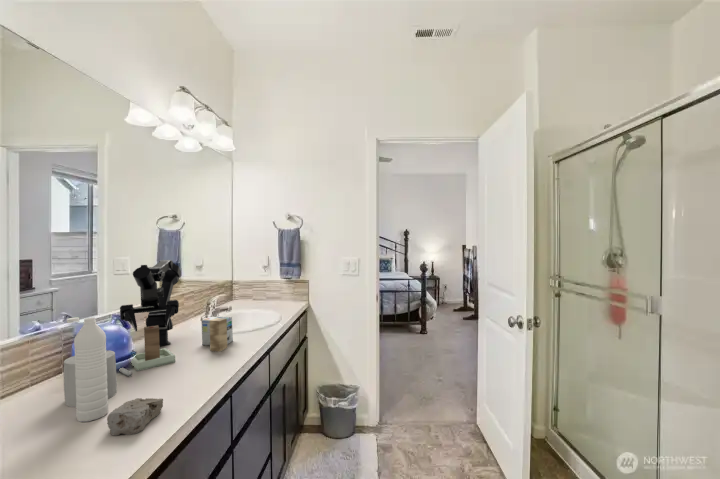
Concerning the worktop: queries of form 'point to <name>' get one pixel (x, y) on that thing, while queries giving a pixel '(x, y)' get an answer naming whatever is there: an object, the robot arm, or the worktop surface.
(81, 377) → the water bottle
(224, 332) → the oak block
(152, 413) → the stone
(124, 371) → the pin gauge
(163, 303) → the robot arm
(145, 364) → the tray
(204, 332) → the light bulb box
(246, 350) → the worktop surface
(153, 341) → the walnut block
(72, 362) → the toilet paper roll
